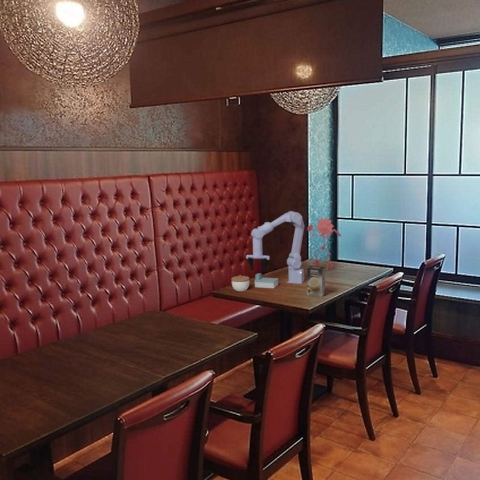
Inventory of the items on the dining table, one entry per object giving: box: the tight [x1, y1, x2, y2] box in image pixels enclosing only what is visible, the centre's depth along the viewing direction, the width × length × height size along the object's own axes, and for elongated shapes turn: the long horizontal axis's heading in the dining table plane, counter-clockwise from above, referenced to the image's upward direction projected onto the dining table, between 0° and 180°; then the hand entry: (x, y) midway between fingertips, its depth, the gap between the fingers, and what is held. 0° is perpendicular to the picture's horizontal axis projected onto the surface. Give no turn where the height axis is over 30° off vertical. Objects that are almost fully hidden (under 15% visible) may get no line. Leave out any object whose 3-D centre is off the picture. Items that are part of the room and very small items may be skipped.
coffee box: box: [306, 265, 326, 298], centre depth 297 cm, size 9×6×16 cm
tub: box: [254, 280, 279, 289], centre depth 319 cm, size 12×8×4 cm, turn 67°
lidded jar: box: [230, 274, 250, 292], centre depth 312 cm, size 11×11×9 cm
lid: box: [254, 272, 279, 283], centre depth 318 cm, size 13×9×4 cm
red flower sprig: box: [307, 217, 342, 271], centre depth 361 cm, size 15×26×35 cm, turn 54°
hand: (258, 270), depth 319 cm, fingers open, 7 cm apart
